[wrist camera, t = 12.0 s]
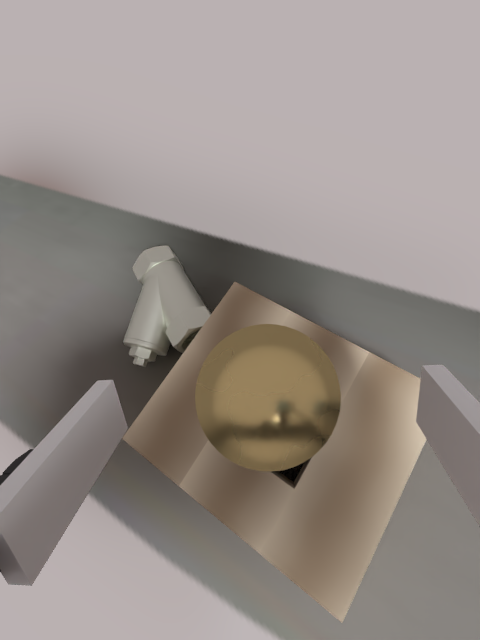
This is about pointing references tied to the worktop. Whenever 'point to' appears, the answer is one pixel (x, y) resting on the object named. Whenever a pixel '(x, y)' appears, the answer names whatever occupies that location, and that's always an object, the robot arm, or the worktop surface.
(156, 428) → the socket block
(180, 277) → the pipe fitting
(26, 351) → the worktop surface
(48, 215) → the worktop surface
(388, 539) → the worktop surface
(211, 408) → the gold-capped peg
